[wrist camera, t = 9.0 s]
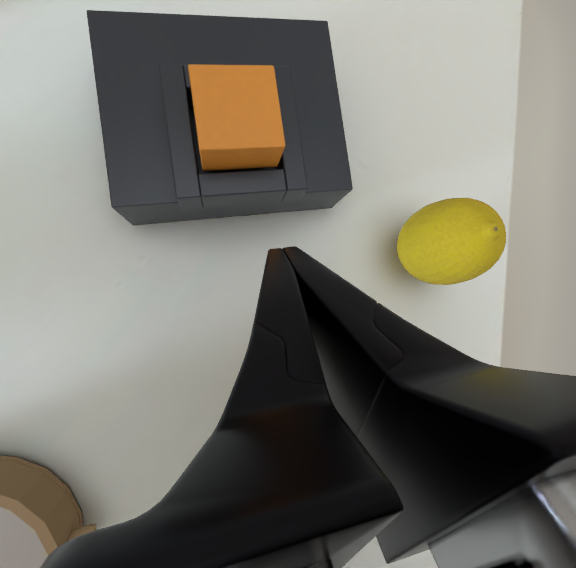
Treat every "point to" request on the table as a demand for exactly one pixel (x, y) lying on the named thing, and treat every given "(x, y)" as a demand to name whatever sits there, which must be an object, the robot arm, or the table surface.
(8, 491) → the alarm clock
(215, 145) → the key
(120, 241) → the table surface
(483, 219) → the lemon
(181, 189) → the push button
